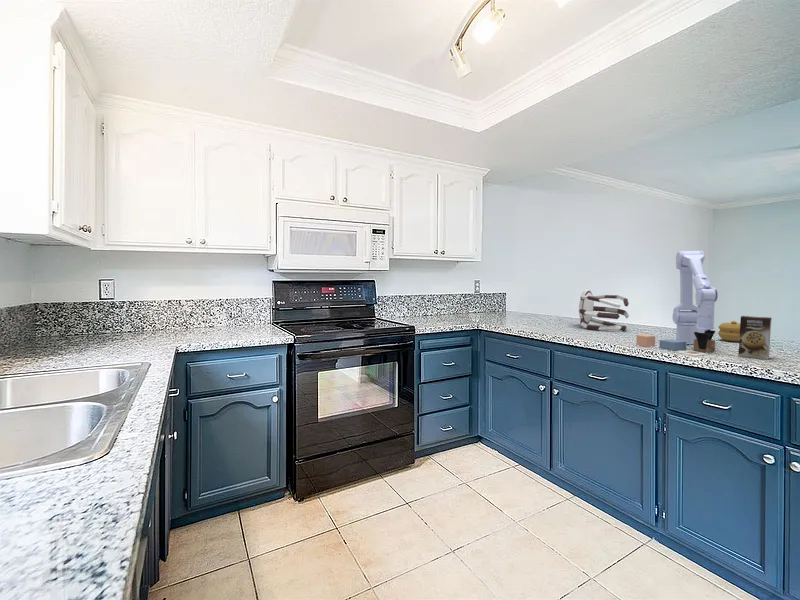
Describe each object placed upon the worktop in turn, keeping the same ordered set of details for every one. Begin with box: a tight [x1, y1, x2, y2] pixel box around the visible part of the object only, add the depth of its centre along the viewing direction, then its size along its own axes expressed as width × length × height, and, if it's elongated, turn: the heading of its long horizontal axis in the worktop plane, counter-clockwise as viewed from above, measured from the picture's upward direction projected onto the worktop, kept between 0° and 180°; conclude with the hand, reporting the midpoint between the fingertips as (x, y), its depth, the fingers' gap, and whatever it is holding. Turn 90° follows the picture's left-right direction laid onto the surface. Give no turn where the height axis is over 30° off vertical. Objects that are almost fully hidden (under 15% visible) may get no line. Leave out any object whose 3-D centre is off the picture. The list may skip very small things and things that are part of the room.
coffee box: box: [737, 315, 773, 360], centre depth 159 cm, size 9×6×16 cm
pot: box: [717, 320, 740, 343], centre depth 196 cm, size 12×12×10 cm
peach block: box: [635, 334, 656, 348], centre depth 185 cm, size 5×5×5 cm
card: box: [675, 350, 709, 357], centre depth 167 cm, size 8×8×1 cm
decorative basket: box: [578, 288, 630, 332], centre depth 245 cm, size 24×27×35 cm
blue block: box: [658, 338, 687, 352], centre depth 177 cm, size 7×7×4 cm
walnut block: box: [693, 339, 716, 353], centre depth 172 cm, size 5×5×5 cm
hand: (704, 347), depth 172 cm, fingers open, 7 cm apart
